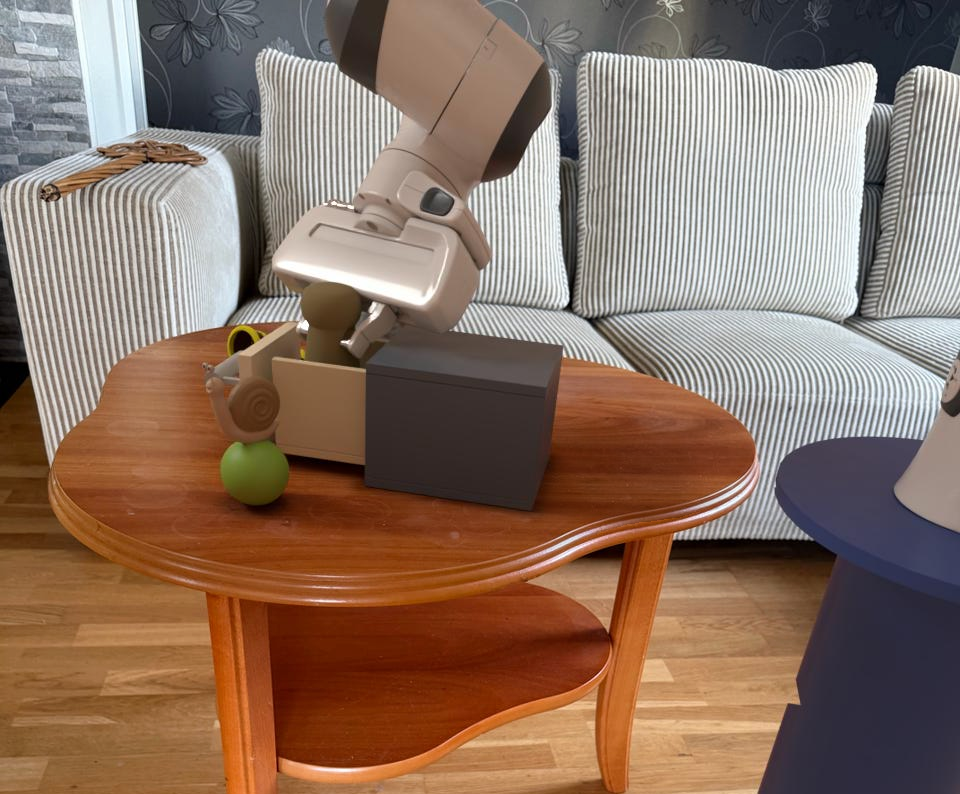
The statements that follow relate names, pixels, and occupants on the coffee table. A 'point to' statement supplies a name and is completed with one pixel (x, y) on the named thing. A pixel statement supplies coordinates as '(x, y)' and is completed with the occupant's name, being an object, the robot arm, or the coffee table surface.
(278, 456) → the snail figurine
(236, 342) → the opera glasses
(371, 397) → the cabinet
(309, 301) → the cork
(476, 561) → the coffee table surface
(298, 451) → the drawer
